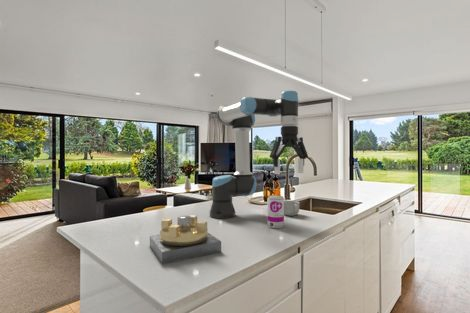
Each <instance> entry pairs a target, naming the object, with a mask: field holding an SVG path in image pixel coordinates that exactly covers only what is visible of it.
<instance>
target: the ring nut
mask: <svg viewBox="0 0 470 313" xmlns="http://www.w3.org/2000/svg"><path fill="white" fill-rule="evenodd" d="M176 219H177V220H176V221H177V224H173V218H164V219H161V222H160V223H161V224H160V227H161V228H160V231H159V235H160V241H161V242H162V243H164V244H167V245H172V246H186V245H193V244H198V243H201V242H203V241H205V240H206V239H207V238H208V233H209V231H208V221H204V220H200V221H198V215H196V214H195V215H193V214H190V215H179V216H177V218H176Z"/></svg>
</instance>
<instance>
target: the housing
mask: <svg viewBox="0 0 470 313" xmlns="http://www.w3.org/2000/svg"><path fill="white" fill-rule="evenodd" d="M149 247H150V249H151V250H152V251H153V253H154V255H155V256H156V257H157V258H158V261H160V263H161V264H162V265H164V264H169V263H174V262H179V261H183V260H188V259H194V258H198V257H203V256H207V255H208V256H209V255H213V254H218V253H222V241H221V240H220V239H219V238H217V237H215V236H213V235H212V234H210V233H209V232H208V238H207V239H206V240H205V241H203V242H201V243H198V244H193V245H186V246H172V245H167V244H164V243H162V242H161V241H160V234H155V235H154V234H153V235H149Z"/></svg>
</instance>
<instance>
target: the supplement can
mask: <svg viewBox="0 0 470 313" xmlns="http://www.w3.org/2000/svg"><path fill="white" fill-rule="evenodd" d="M266 201H267V202H266V205H267V206H266V210H267V211H266V214H267V215H266V218H267V219H266V220H267V221H266V222H267V223H266V224H267V226H268V227H269V228H271V229H281V228H283V227H284V226H285V215H284V201H285V199H284V197H283V195H277V194H276V195H275V194H273V195H272V194H271V195H268V197H267V199H266Z"/></svg>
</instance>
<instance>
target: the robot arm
mask: <svg viewBox="0 0 470 313" xmlns="http://www.w3.org/2000/svg"><path fill="white" fill-rule="evenodd" d="M298 94H299V93H298V92H297V91H296V90H284V91H282V92H281V94H280V98H277V99H274V98H273V99H271V98H261V97H253V96H248V97H247V96H244V97H242V98H241V100H240V101H239V102H236V103H234V104H231V105H224V106H221V107H220V108H218V110H217V112H216V118H217V121H218V122H219V124H222V125H223V126H228V127H231V128H232V130H233V132H234V141H235V142H234V143H235V144H234V147H235V148H234V149H235V172H234V173H233V175H231V174H225V175H219V176H215V177H213V178H212V184H211V187H212V189H211V190H212V191H211V192H212V193H211V194H212V198H211V199H212V203H211V206H210V209H209V217H211V218H213V219H229V218H230V219H231V218H233V217H235V216H236V210H235V207H234V204H233V198H237V197H247V196H253V195H254V194H255V192H256V189H257V185H258V184H257V183H258V182H257V180H256V177H255V176H254V174H253V173H252V172H251V162H250V161H251V160H250V157H251V156H250V131H251V130H252V128H253V126H254V125H255V122H256V116H255V115H260V116H261V115H262V116H269V117H278V116H280V126H281V127H280V135H281V136H275V142H274V144H273V147H272V149H271V152H270V155H269V158H270V159H271V160H273V167H274V175H280V174H281V159H279V158H280V157H281V155H282V154H283V152H284V151H285V149H286V148H291V149H293V150H294V151H295V153H296V154H297V156H298V158H297V173H299V174H304V166H305V159H307V158H308V156H309V154H308V152H307V149H306V146H305V144H304V140H303V139H304V138H303V137H301V136H299V137H298V134H299V126H298V125H299V96H298Z"/></svg>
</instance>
